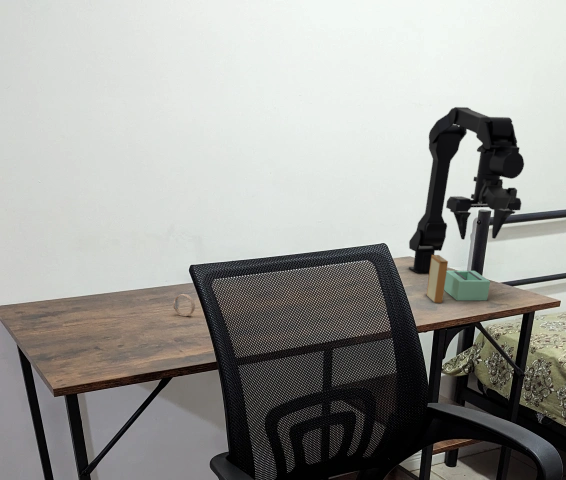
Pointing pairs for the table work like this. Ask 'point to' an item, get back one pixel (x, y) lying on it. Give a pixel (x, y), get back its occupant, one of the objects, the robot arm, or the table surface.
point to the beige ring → (176, 305)
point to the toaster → (466, 285)
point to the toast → (437, 278)
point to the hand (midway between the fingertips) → (478, 238)
